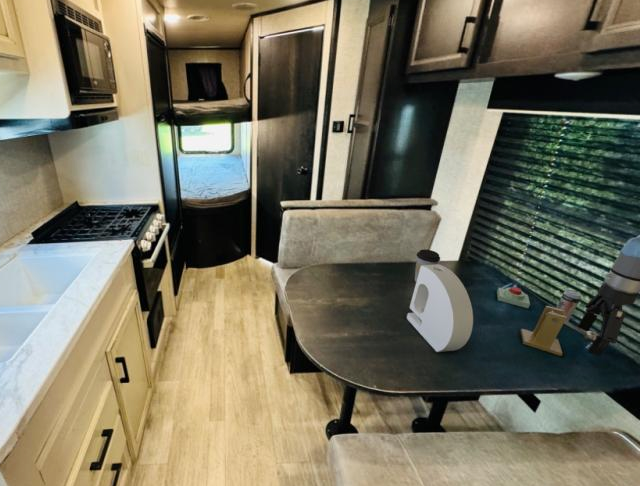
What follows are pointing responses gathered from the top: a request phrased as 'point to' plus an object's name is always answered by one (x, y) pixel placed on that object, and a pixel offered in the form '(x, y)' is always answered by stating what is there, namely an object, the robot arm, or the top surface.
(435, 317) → the white curved block
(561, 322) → the bracket
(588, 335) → the tap lever
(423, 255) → the coffee cup
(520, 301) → the button block
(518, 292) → the button
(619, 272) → the robot arm
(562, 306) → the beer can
